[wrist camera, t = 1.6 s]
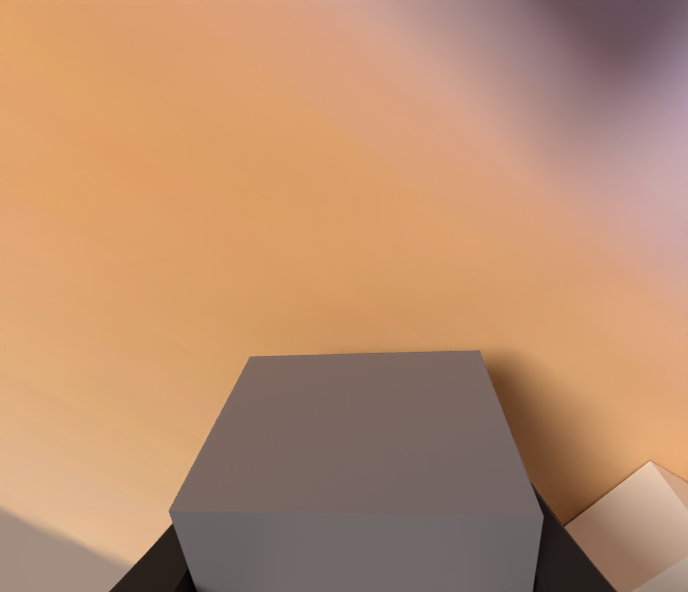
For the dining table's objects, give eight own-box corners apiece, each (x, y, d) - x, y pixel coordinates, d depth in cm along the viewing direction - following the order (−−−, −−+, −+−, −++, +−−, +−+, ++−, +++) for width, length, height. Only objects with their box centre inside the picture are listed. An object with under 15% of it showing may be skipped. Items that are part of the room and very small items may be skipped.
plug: (464, 309, 11) (543, 516, 5) (457, 483, 13) (509, 747, 8) (271, 316, 11) (169, 511, 6) (299, 482, 14) (244, 728, 8)
